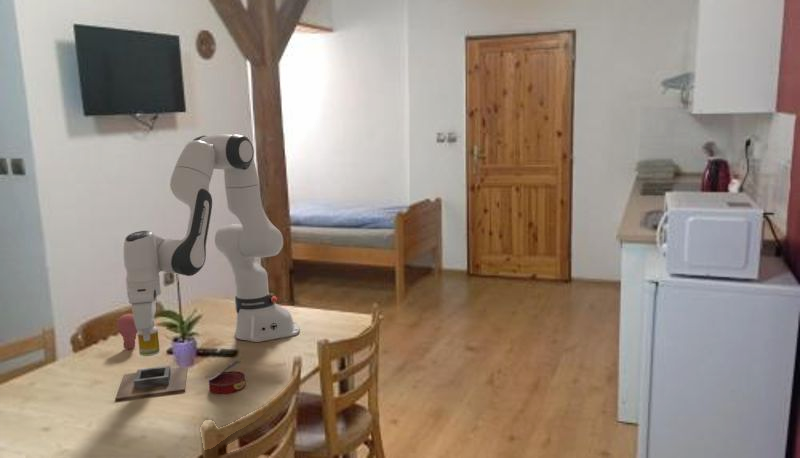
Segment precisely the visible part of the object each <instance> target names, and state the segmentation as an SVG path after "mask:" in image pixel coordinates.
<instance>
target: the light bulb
mask: <svg viewBox="0 0 800 458" xmlns="http://www.w3.org/2000/svg"><path fill="white" fill-rule="evenodd" d="M116 329H117V331H118V333H119V334H120V335H121V336H122V340H123V348H124V349H127V350H131V349H134V348H135V347H136V339H137V335H138V331H137V329H136V327H135V323H134V317H133V313H125V314H122V315H120V317H119V318H118V319H117V321H116Z"/></svg>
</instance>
